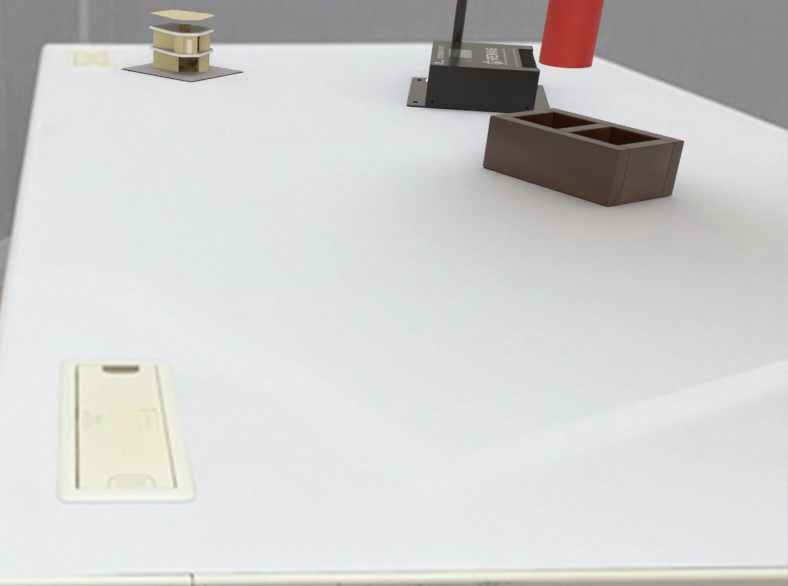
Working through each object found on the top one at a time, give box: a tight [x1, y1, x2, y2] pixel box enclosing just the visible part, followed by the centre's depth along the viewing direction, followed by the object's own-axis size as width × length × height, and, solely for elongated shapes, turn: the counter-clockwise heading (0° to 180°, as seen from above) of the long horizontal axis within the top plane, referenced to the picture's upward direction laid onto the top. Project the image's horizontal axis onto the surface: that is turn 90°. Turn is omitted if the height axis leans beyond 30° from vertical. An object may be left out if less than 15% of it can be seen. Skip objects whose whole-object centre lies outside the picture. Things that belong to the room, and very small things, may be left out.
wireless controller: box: [406, 0, 551, 113], centre depth 121 cm, size 20×14×17 cm
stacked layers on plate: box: [120, 9, 244, 82], centre depth 130 cm, size 10×9×6 cm
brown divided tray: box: [482, 107, 685, 207], centre depth 94 cm, size 7×13×4 cm, turn 32°
